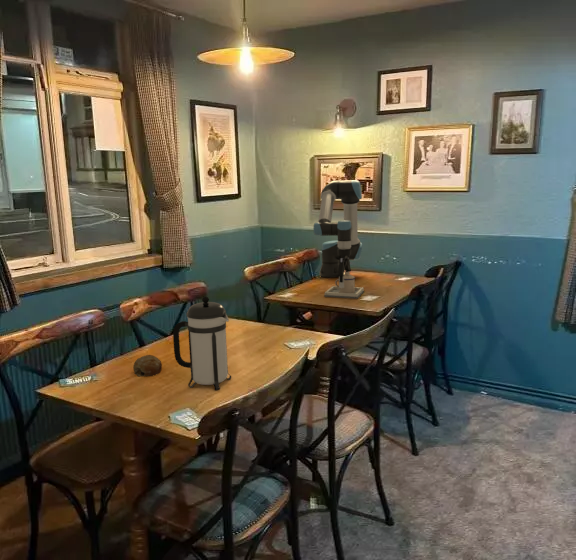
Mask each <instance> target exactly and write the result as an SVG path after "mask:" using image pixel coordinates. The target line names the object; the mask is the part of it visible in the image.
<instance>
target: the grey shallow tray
mask: <svg viewBox="0 0 576 560" xmlns="http://www.w3.org/2000/svg"><path fill="white" fill-rule="evenodd" d="M364 293H365V290H364V287H363V286H362V287H357V286H356V287H355V292H354V293H340V292H339V288H338V287H337V286H336V285H332V286H331V287H330V288H328V289H327V290H326V291H325V292H324V296H323V297H325V298H338V299H339V298H341V299H359V298H360V297H361V296H362V295H363V294H364ZM361 294H362V295H361Z"/></svg>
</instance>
